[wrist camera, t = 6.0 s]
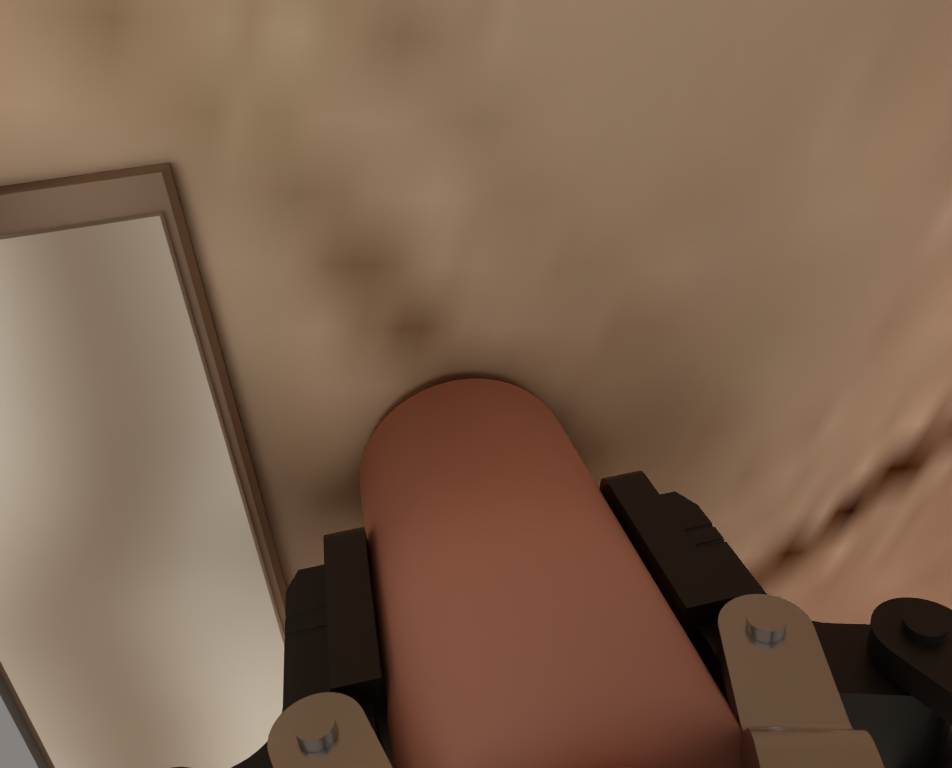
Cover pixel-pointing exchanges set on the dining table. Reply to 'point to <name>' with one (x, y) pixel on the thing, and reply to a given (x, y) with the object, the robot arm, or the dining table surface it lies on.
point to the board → (125, 494)
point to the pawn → (521, 601)
